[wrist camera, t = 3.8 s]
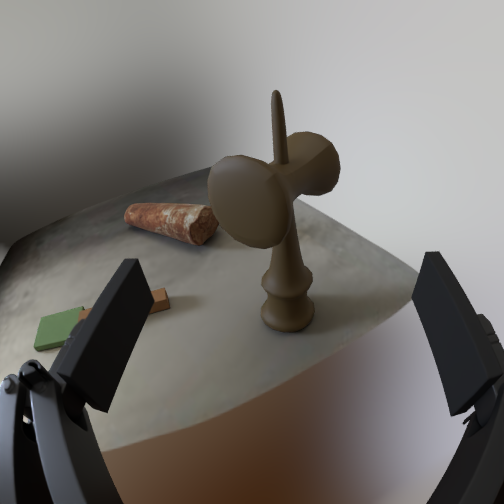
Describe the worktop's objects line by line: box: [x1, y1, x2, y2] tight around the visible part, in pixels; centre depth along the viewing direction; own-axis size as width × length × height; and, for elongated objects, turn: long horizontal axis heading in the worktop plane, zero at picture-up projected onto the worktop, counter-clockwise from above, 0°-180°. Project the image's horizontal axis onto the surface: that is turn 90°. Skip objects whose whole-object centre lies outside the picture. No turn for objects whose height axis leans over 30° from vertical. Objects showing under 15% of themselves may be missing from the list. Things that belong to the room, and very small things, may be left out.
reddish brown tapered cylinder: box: [124, 203, 219, 246], centre depth 42 cm, size 6×19×6 cm, turn 57°
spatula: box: [34, 288, 170, 351], centre depth 28 cm, size 18×5×1 cm, turn 109°
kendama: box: [207, 90, 340, 332], centre depth 21 cm, size 6×10×20 cm, turn 144°
